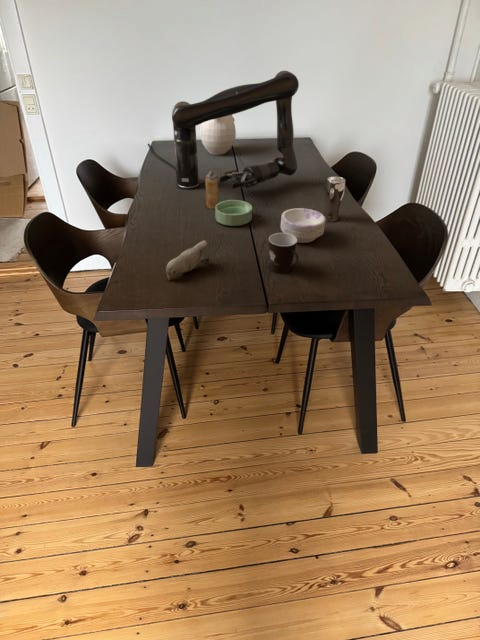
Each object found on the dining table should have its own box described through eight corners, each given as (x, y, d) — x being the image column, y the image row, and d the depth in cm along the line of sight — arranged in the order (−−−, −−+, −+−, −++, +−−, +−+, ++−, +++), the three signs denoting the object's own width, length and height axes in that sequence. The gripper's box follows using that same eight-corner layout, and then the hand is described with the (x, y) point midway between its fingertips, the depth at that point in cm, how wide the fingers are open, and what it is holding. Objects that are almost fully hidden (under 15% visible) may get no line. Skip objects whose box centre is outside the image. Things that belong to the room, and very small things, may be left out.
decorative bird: (162, 277, 130) (159, 255, 126) (201, 258, 140) (199, 237, 135) (173, 284, 127) (171, 262, 123) (212, 264, 137) (211, 243, 132)
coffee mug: (265, 261, 138) (266, 233, 132) (291, 260, 139) (294, 232, 133) (270, 281, 129) (272, 251, 123) (298, 279, 130) (301, 250, 124)
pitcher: (235, 157, 220) (235, 104, 205) (199, 157, 220) (196, 104, 205) (236, 147, 235) (236, 96, 219) (202, 146, 235) (200, 96, 220)
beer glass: (339, 222, 161) (346, 183, 152) (320, 221, 162) (326, 182, 153) (340, 215, 166) (346, 176, 157) (321, 213, 167) (327, 175, 158)
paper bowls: (326, 231, 156) (329, 210, 151) (318, 250, 144) (321, 228, 139) (285, 224, 159) (287, 204, 154) (274, 243, 148) (276, 221, 143)
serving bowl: (208, 218, 163) (207, 205, 160) (236, 209, 170) (236, 197, 167) (230, 231, 155) (230, 218, 152) (259, 221, 162) (259, 208, 159)
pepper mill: (204, 205, 173) (202, 170, 164) (213, 202, 175) (212, 168, 166) (211, 209, 170) (209, 174, 161) (220, 206, 172) (220, 171, 163)
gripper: (246, 160, 181) (215, 168, 173) (268, 169, 172) (237, 178, 164) (245, 178, 186) (215, 186, 177) (267, 187, 177) (237, 197, 169)
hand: (226, 182), depth 171 cm, fingers open, 8 cm apart
